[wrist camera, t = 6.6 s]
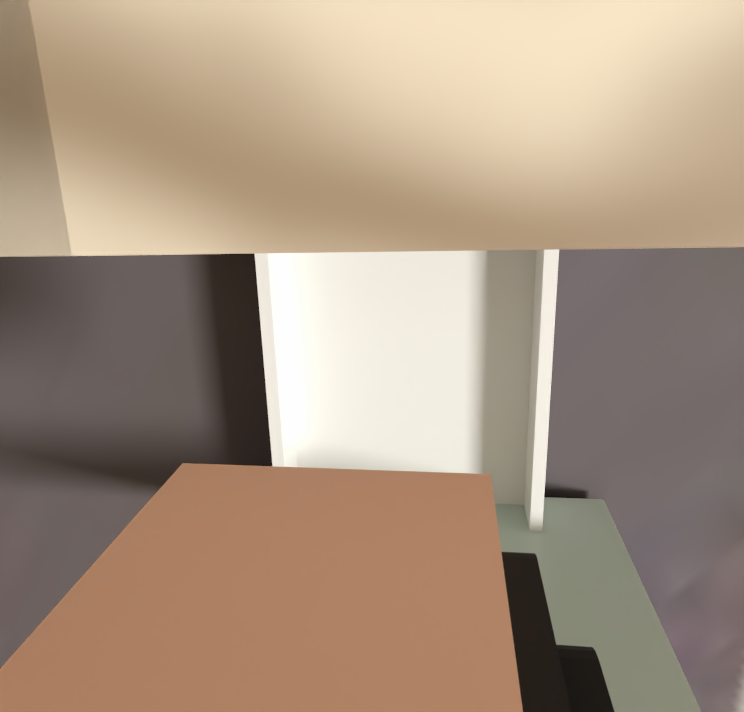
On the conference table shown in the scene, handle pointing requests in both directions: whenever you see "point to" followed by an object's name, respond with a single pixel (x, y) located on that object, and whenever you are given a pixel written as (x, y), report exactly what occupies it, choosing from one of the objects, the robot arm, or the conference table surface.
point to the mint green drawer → (457, 420)
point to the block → (285, 601)
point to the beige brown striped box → (369, 125)
